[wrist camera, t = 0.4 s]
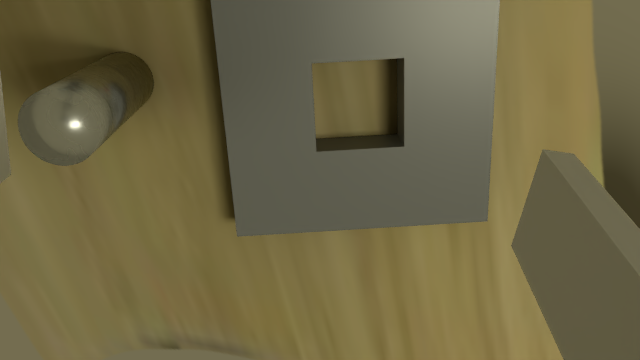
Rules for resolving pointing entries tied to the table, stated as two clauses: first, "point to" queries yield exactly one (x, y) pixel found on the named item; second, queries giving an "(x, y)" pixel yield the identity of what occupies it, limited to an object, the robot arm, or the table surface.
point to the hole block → (363, 151)
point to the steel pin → (84, 108)
